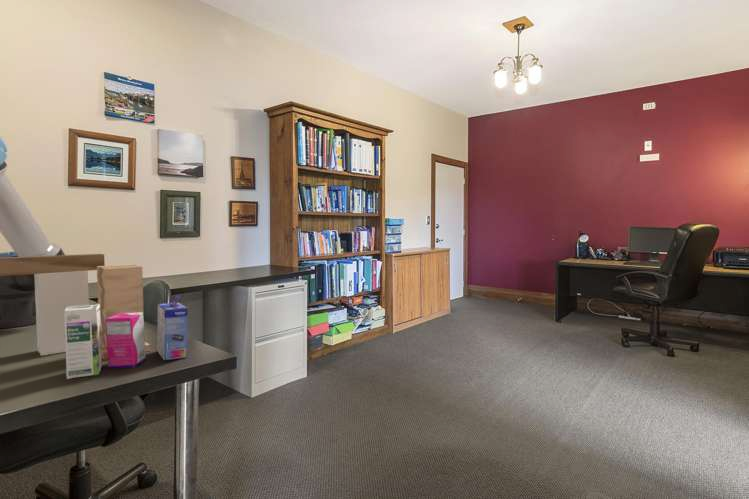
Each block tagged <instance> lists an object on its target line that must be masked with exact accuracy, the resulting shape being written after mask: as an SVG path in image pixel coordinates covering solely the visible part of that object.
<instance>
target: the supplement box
mask: <svg viewBox="0 0 749 499" xmlns="http://www.w3.org/2000/svg"><path fill="white" fill-rule="evenodd" d="M105 324H106V340H107V356H108V359H107V368H108V369H134V368H136V367H137V366H139V365H140V364H141V363H143V362H145V361H146V360H147V357H146V352H145V342H146V340H145V320H144V321H143V312H138V313H118V314H116V315H113V316H111V317H109V318H106V319H105Z"/></svg>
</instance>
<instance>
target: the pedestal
mask: <svg viewBox="0 0 749 499" xmlns="http://www.w3.org/2000/svg"><path fill="white" fill-rule="evenodd" d="M88 273H89V271H74V272H58V273H42V274H34V279H35V302H36V342H37V343H36V344H37V345H36V346H37V347H36V348H37V352H38V354H39V353H40V354H39V356H41V357H43V355H44V356H49V354H50V355H55V354H60V353H66V344H65V327H64V311H65V309H66V308H67V307H70V306H85V305H90V303H89V302H90V298H89V276H88V275H89V274H88Z"/></svg>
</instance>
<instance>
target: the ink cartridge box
mask: <svg viewBox="0 0 749 499" xmlns="http://www.w3.org/2000/svg"><path fill="white" fill-rule="evenodd" d="M180 298H181V296H180V295H179V294H176V295H175V297H174V298H173V300H172V302H167V303H166V302H165V303H159V304H157V332H156V333H157V338H156V340H157V342H156V344H157V345H156V346H157V349H156V350H157V352H158V354H159V356H160V357H161V359H163V361H172V360H178V359H187V358H188V310H189V309H188V307H186V306H185V305H183V304H182V303H181V302H179V301H180Z"/></svg>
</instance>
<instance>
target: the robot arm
mask: <svg viewBox="0 0 749 499" xmlns="http://www.w3.org/2000/svg"><path fill="white" fill-rule="evenodd" d="M6 152H8V149H7V145H6V142H5V141H4V138H2V136H1V135H0V233H1V235H2V236H3V238H4V239H5V241H6V242H7V243H8V244H9V246H10V247H11V248H12V250H13V251H6V252H0V258H5V257H30V256H56V255H66V254H65V252H64V251H63V249H62V247H61V246H60V245H59V244H58V243H56V242H55V243H54V242H50V240H49V239H48V237H47V235H46V234H45V232H44V231H43V230H42V228H41V226H40V225H39V224H38V223H39V222H38V221H37V220H36V218H35V217H34V216H33V214H32V212H31V211H30V209H29V207H27V205H26V203H25V201H24V200H23V199H22V198H21V196H20V194H19V192H17V190H16V188H15V187H14V185H13V184H12V182H11V181H10V179H9V178H8V176H7V174H6V173H5V172H6V170H7V168H8V164H7V162H6V159H7V157H8V154H7V153H6ZM35 324H36V302H35V279H34V274H26V275H10V276H0V329H7V328H10V329H11V328H17V327H24V326H25V327H26V326H29V325H35Z"/></svg>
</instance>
